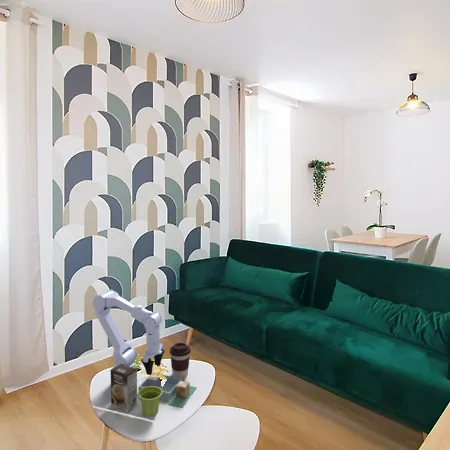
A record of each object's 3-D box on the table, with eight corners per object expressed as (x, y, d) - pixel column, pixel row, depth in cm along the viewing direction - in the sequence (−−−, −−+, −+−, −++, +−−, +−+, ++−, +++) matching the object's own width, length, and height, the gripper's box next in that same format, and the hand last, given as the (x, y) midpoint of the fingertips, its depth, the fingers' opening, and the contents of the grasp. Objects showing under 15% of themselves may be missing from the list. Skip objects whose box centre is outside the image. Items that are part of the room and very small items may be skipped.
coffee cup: (188, 381, 174) (188, 351, 172) (167, 380, 175) (167, 350, 172) (192, 370, 184) (192, 341, 182) (172, 369, 184) (172, 340, 182)
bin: (138, 393, 163) (138, 386, 163) (152, 379, 175) (152, 372, 174) (170, 401, 159) (170, 393, 158) (182, 385, 170) (182, 378, 170)
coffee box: (110, 406, 155) (109, 369, 153) (121, 397, 160) (120, 362, 158) (127, 412, 151) (126, 375, 148) (138, 404, 156) (137, 368, 154)
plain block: (146, 389, 166) (146, 378, 166) (151, 383, 171) (151, 373, 170) (155, 390, 165) (155, 380, 164) (160, 385, 169) (160, 375, 169)
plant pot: (151, 402, 158) (151, 383, 157) (167, 411, 152) (166, 391, 151) (133, 413, 151) (133, 393, 149) (148, 423, 145) (148, 402, 143)
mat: (168, 405, 156) (168, 403, 156) (183, 386, 170) (183, 384, 170) (182, 408, 154) (182, 406, 154) (196, 388, 168) (196, 387, 168)
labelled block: (175, 396, 160) (175, 385, 160) (180, 391, 165) (180, 380, 164) (185, 399, 159) (185, 387, 158) (189, 393, 163) (189, 382, 163)
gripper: (153, 349, 156) (153, 380, 157) (168, 335, 169) (169, 363, 171) (138, 347, 158) (138, 377, 160) (155, 333, 171) (155, 361, 173)
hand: (153, 370), depth 165 cm, fingers open, 7 cm apart
